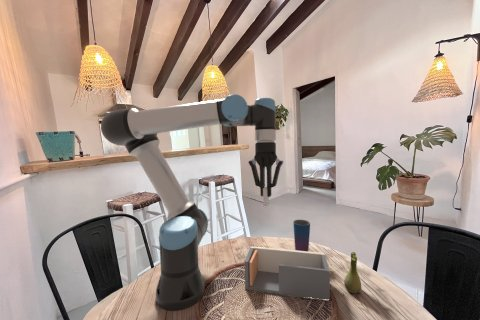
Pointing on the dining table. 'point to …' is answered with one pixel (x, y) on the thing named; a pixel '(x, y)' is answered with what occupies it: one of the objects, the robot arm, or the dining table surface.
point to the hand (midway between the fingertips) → (266, 205)
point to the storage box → (289, 273)
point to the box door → (253, 267)
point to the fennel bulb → (353, 276)
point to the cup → (301, 234)
